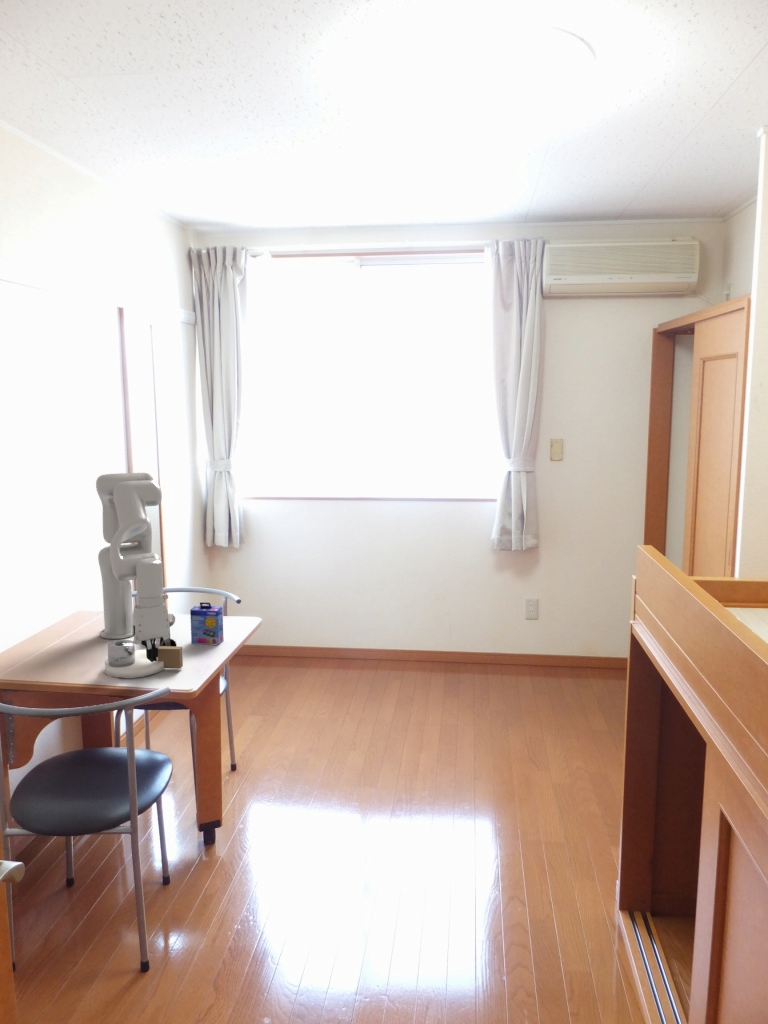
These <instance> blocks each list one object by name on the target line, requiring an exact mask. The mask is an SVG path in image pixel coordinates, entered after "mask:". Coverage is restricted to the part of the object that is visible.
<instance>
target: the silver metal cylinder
mask: <svg viewBox="0 0 768 1024" xmlns="http://www.w3.org/2000/svg"><path fill="white" fill-rule="evenodd" d="M135 650H136V649H135V644H134V643H133V640H130V639H117V640H113V641H111V642H109V643H107V659H108V665H109V666H111V667H126V666H130V665H132V664H134V663H135Z"/></svg>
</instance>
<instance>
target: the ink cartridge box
mask: <svg viewBox="0 0 768 1024" xmlns="http://www.w3.org/2000/svg"><path fill="white" fill-rule="evenodd" d="M223 612H224V611H223V606H219V605H217V606H214V605H212V604H211V603H210V602H201V601H200V602H199V605H194V606H193V607H192V608H191V609H190V612H189V614H190V637H191V644H190V645H205V644H219V645H220V644H221V643H223V642H224V639H225V638H224V618H223V617H224V616H223V615H224V614H223Z"/></svg>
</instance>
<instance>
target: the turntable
mask: <svg viewBox="0 0 768 1024" xmlns="http://www.w3.org/2000/svg"><path fill="white" fill-rule="evenodd" d="M183 661H184V660H183V646H178V645H177V646H159V648H158V657H157V661H153V662H151V661H150V660H148V659H147V656H146V649H138V650H137V649H135V663H134V664H132V665H130V666H126V667H111V666H109V665H108V658H106V659H105V661H104V670H105V673H106V674H107V675H109V676H111V677H114V678H122V679H125V678H126V679H129V678H132V679H133V678H140V677H147V676H151V675H154V674H157V673H159V672H161V671H163V670H164V669H168V670H169V669H175V670H177V669H178V670H179V669H180V670H181V669H182V668H183V667H184V662H183Z"/></svg>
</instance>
